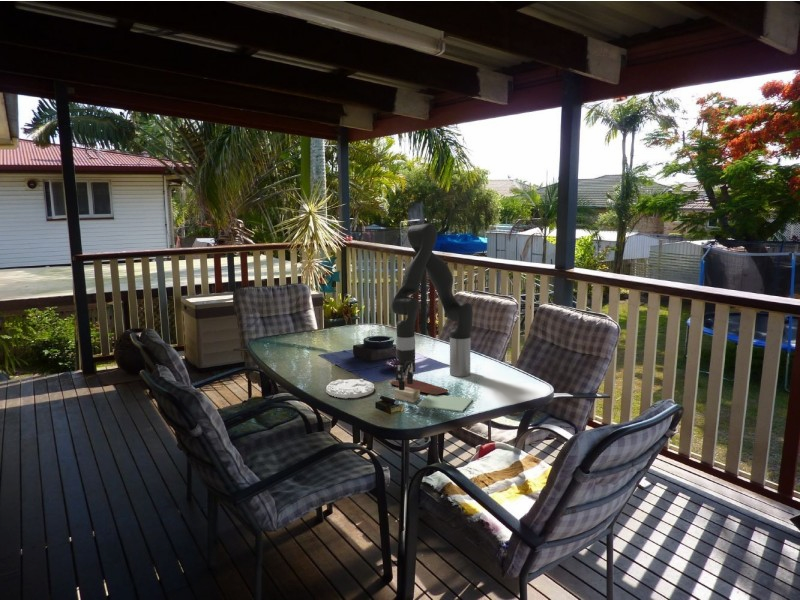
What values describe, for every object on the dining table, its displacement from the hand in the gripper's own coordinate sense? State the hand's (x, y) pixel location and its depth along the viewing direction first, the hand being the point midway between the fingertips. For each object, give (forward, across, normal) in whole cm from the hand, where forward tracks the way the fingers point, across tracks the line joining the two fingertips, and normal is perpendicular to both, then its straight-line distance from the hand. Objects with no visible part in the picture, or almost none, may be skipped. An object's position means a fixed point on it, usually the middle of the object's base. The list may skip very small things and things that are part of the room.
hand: (405, 386), depth 231 cm
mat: (+5, 0, +16) cm, 17 cm away
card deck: (+5, 0, 0) cm, 5 cm away
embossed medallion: (+6, -1, -26) cm, 26 cm away
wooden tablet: (+5, -13, 0) cm, 14 cm away
